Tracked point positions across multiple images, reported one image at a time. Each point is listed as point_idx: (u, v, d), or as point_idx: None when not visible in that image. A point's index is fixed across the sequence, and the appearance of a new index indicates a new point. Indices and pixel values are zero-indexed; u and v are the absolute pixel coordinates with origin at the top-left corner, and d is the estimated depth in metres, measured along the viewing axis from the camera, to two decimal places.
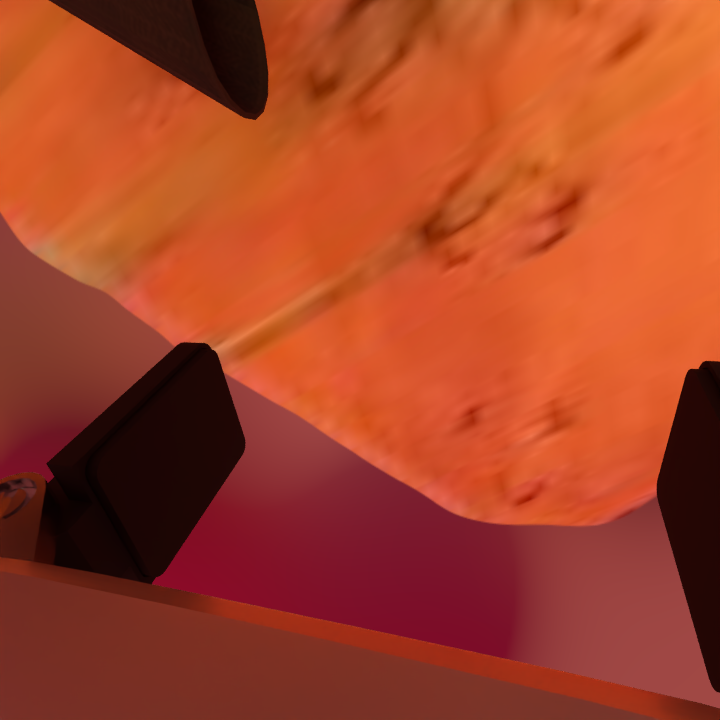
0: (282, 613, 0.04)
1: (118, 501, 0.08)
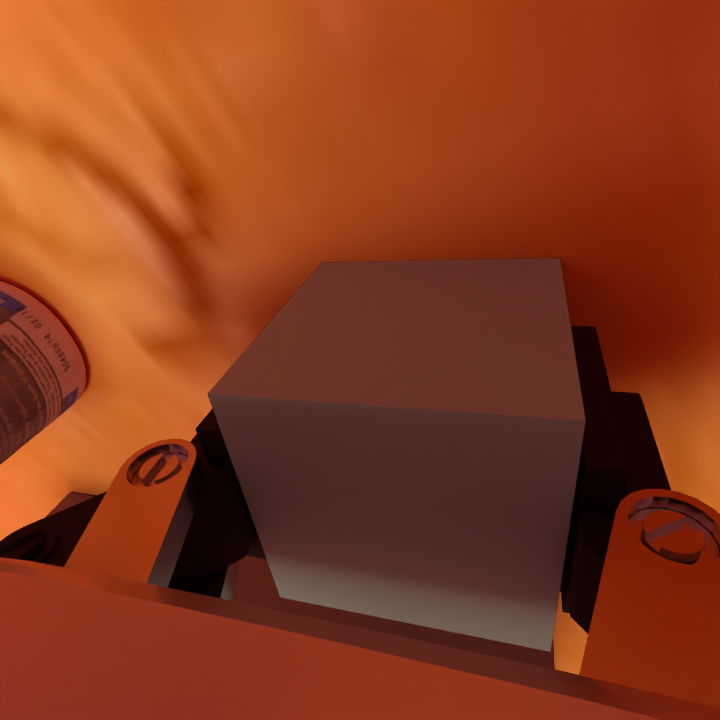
0: (282, 613, 0.04)
1: None
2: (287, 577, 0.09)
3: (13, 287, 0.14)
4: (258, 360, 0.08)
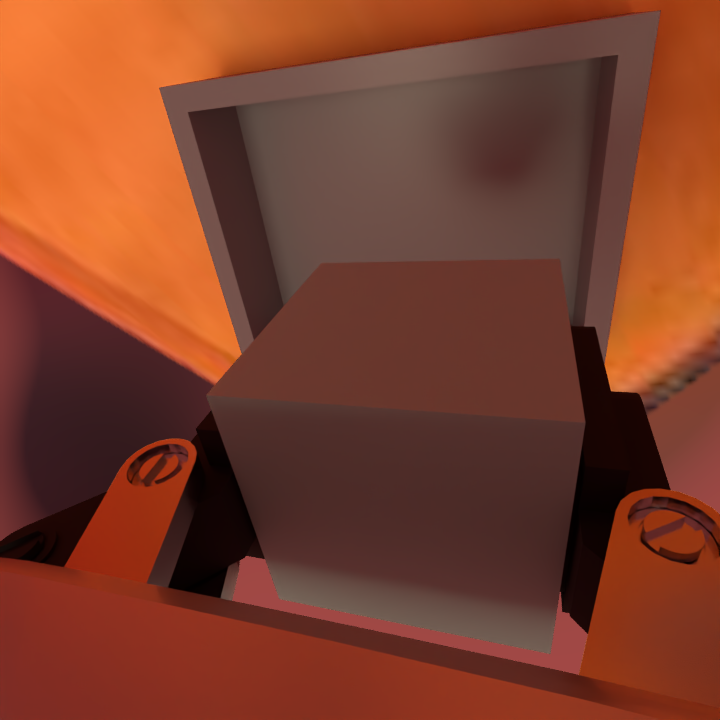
0: (282, 613, 0.04)
1: None
2: (286, 579, 0.09)
3: None
4: (257, 361, 0.08)
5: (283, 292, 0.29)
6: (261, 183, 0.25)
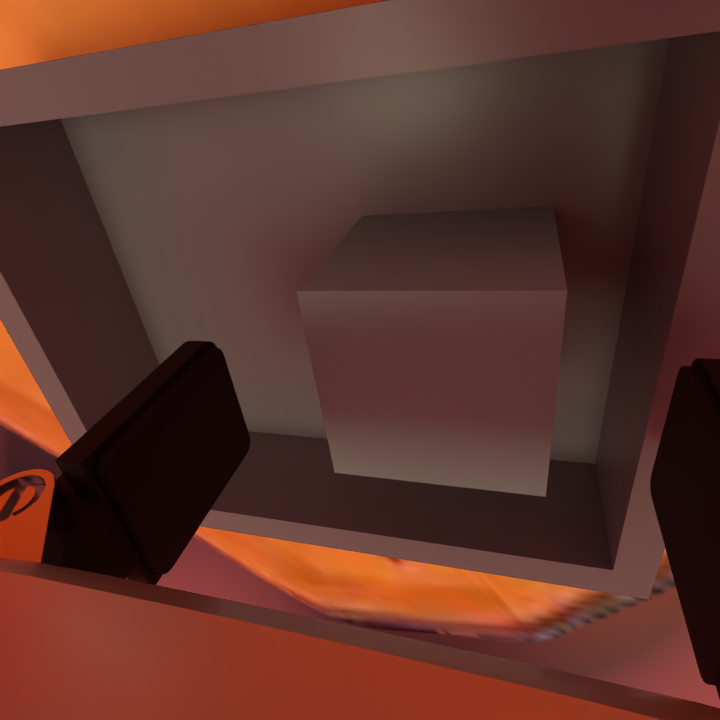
0: (282, 613, 0.04)
1: (126, 498, 0.08)
2: (342, 452, 0.12)
3: None
4: (328, 272, 0.10)
5: None
6: (119, 240, 0.17)
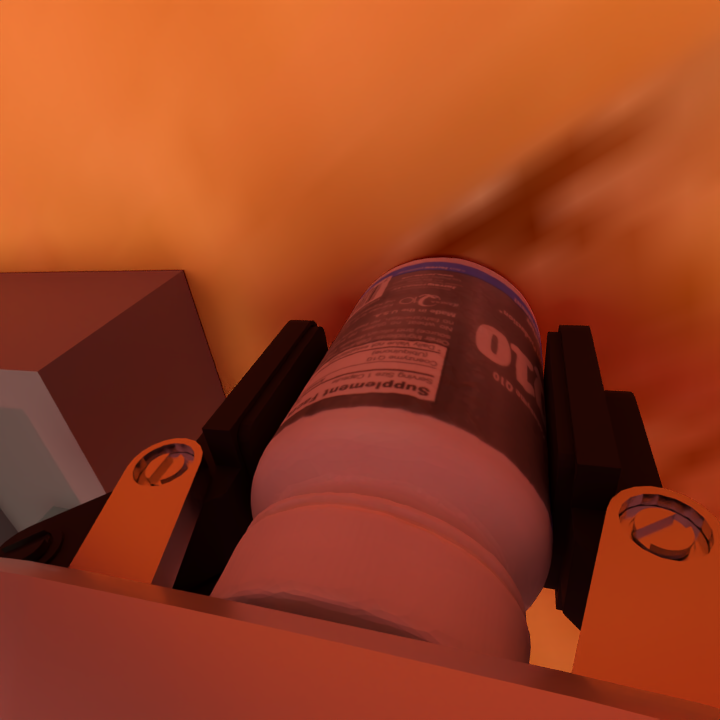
0: (282, 613, 0.04)
1: None
2: None
3: None
4: None
5: None
6: None
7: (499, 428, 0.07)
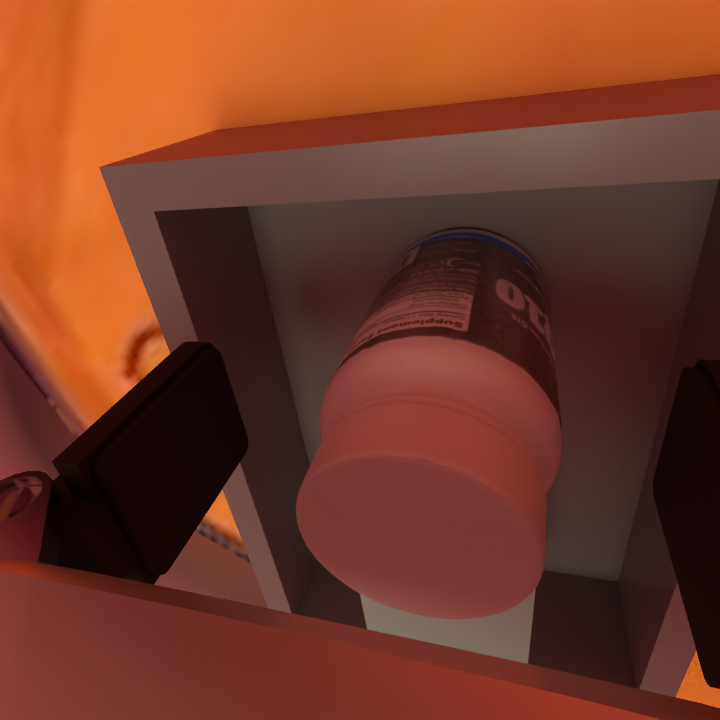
0: (282, 613, 0.04)
1: (123, 499, 0.08)
2: None
3: None
4: None
5: None
6: None
7: (519, 351, 0.09)
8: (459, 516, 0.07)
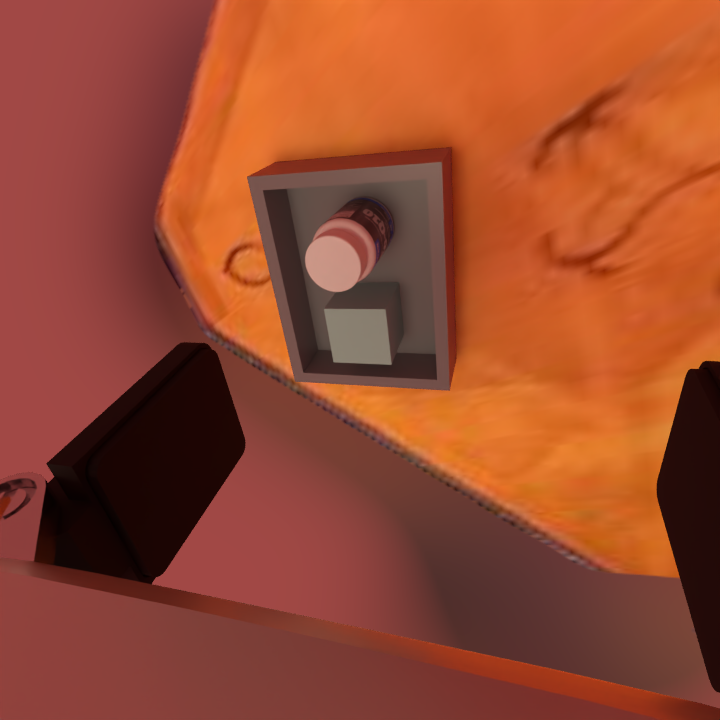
0: (282, 613, 0.04)
1: (118, 501, 0.08)
2: (333, 312, 0.38)
3: (391, 238, 0.39)
4: (388, 308, 0.38)
5: None
6: None
7: (362, 223, 0.33)
8: (341, 251, 0.32)
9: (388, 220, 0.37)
